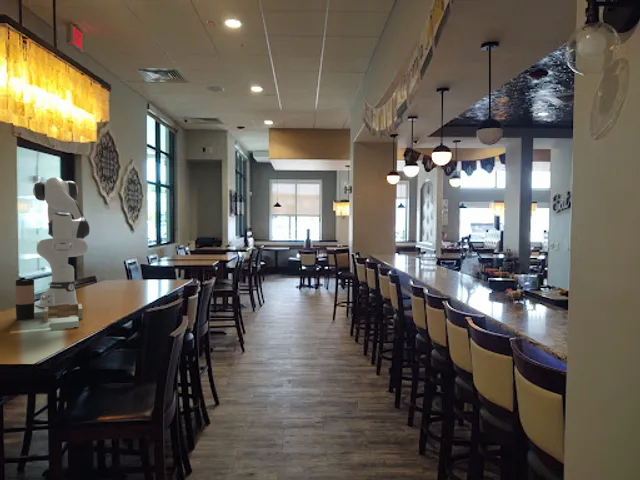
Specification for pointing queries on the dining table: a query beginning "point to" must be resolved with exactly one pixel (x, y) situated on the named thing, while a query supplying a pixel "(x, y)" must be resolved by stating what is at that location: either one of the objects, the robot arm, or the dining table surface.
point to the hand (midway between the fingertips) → (63, 273)
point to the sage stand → (64, 323)
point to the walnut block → (63, 310)
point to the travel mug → (25, 299)
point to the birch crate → (52, 312)
